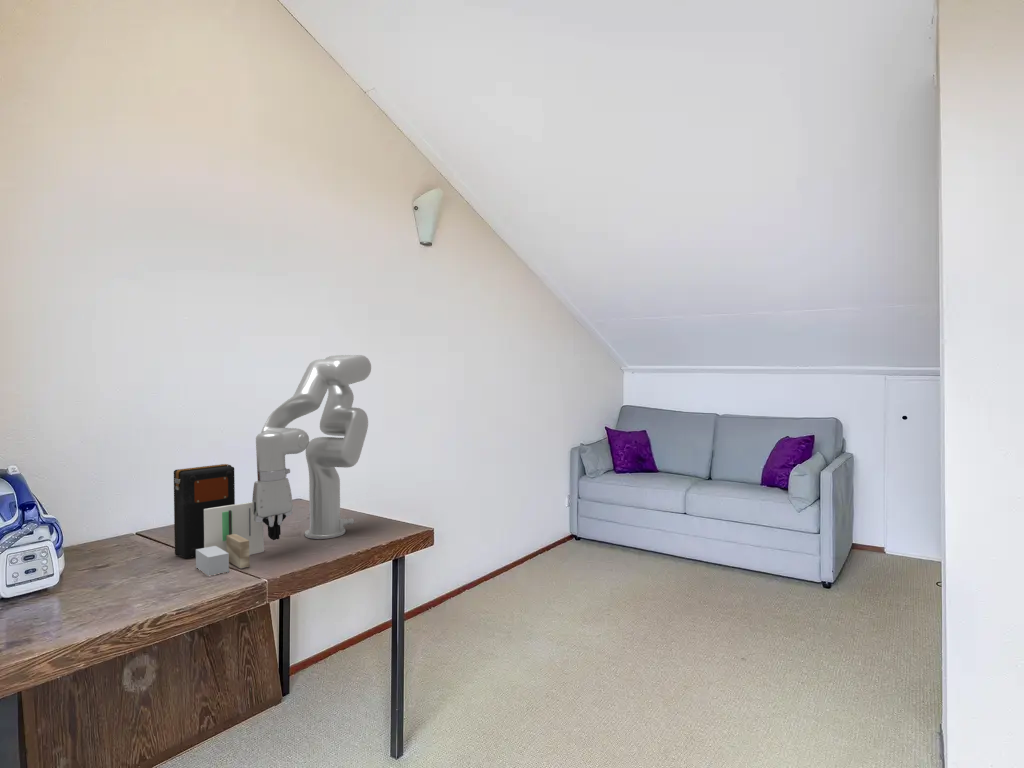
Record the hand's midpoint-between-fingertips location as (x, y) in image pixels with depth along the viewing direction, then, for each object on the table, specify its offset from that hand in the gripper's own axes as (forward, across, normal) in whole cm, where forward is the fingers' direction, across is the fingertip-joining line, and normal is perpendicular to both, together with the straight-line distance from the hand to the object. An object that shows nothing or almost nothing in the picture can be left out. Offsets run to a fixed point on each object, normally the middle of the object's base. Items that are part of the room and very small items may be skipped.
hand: (274, 538), depth 173 cm
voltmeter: (+5, +13, -18) cm, 23 cm away
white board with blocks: (+5, +10, -1) cm, 11 cm away
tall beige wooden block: (+4, +11, +1) cm, 12 cm away
